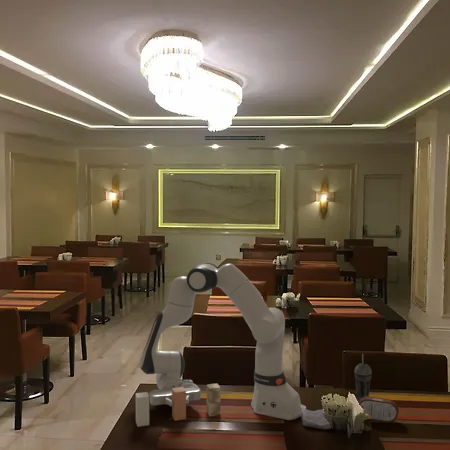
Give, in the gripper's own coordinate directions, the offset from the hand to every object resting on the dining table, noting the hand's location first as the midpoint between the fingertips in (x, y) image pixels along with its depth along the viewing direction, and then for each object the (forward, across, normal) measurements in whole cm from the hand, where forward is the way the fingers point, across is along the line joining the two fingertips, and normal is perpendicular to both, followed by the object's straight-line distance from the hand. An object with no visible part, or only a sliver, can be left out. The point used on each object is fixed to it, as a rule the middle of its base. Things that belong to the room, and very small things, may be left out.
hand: (179, 403), depth 197 cm
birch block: (-1, +14, +6) cm, 15 cm away
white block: (-1, -14, +6) cm, 15 cm away
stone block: (+20, +49, +7) cm, 53 cm away
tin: (+24, +72, +7) cm, 76 cm away
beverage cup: (+6, +77, +7) cm, 78 cm away
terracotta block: (-1, 0, +6) cm, 6 cm away
